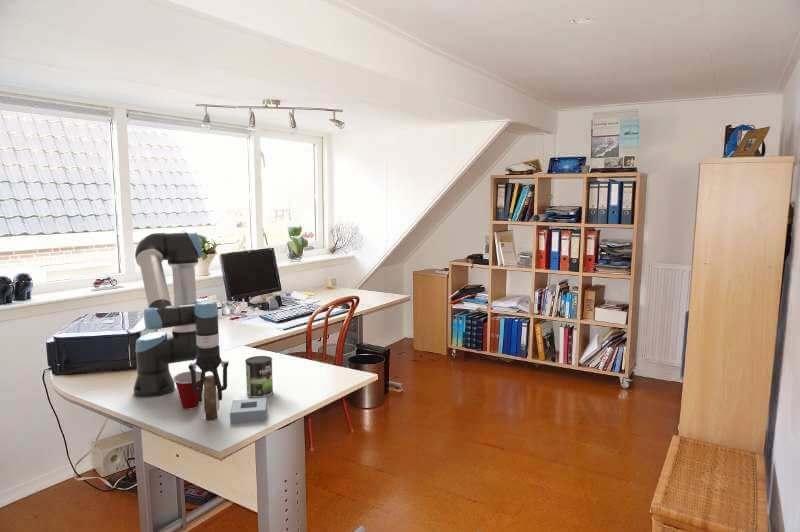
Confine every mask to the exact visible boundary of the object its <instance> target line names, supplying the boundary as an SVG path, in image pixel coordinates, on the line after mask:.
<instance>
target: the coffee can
mask: <svg viewBox="0 0 800 532" xmlns="http://www.w3.org/2000/svg"><path fill="white" fill-rule="evenodd" d="M244 363H245V374H246V375H245V376H246V377H245V378H246V396H247V397H249V398H250V399H254V398H267V397H270V396H271V395H273V394H274V389H273V386H274V385H273V384H274V383H273V358H272V357H271V356H267V355H257V356H251V357H248V358H246V359H245V361H244Z"/></svg>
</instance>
